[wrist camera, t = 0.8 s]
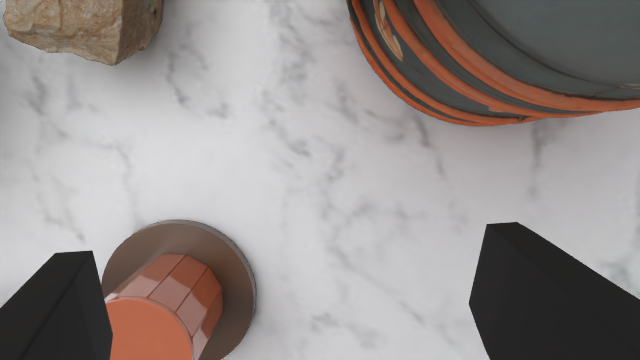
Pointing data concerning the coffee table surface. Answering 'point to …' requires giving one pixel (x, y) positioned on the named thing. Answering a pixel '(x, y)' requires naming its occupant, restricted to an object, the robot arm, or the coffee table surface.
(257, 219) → the coffee table surface
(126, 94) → the coffee table surface
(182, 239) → the brown peg stand
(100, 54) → the stone
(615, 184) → the coffee table surface
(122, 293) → the orange cylinder
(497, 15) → the tankard
